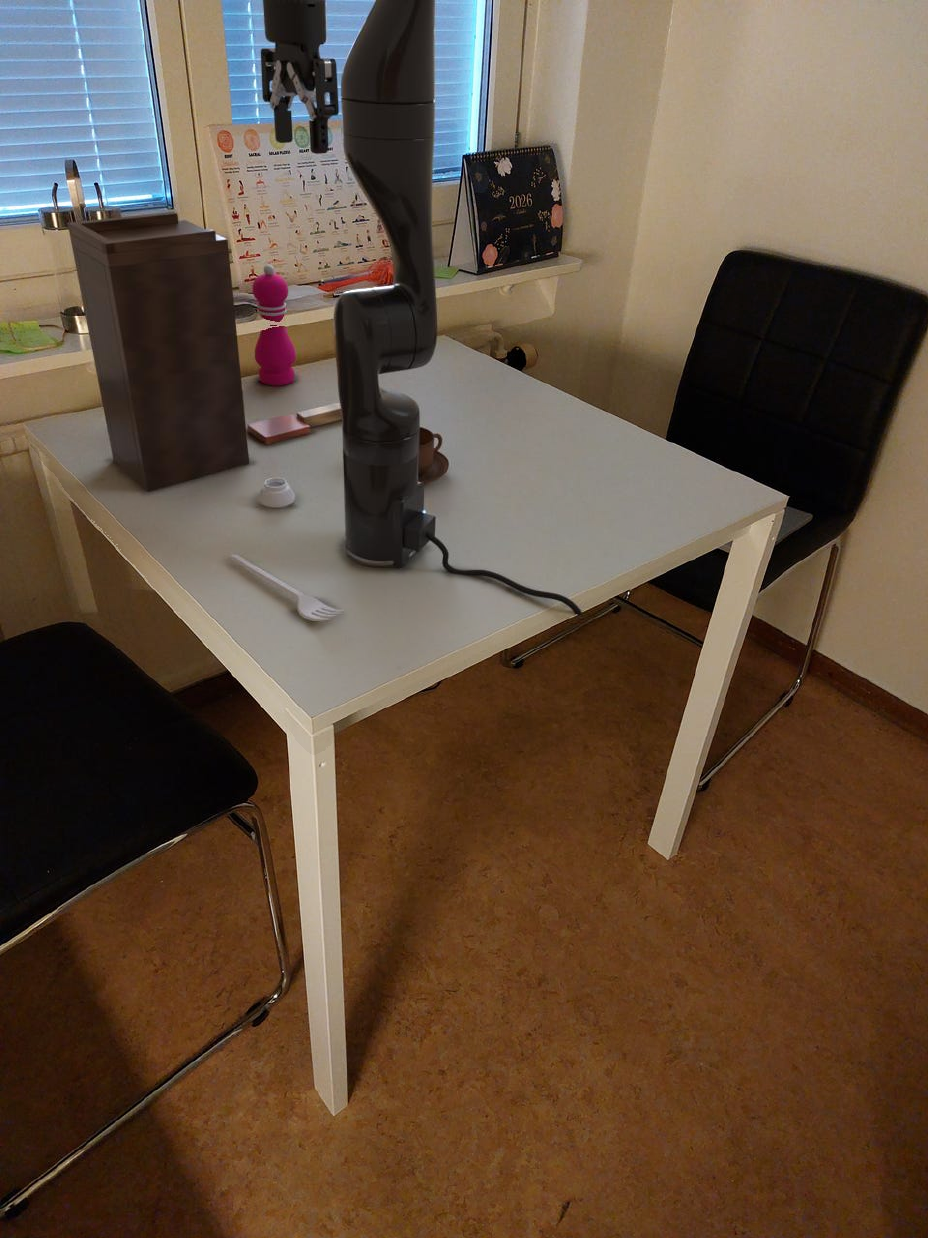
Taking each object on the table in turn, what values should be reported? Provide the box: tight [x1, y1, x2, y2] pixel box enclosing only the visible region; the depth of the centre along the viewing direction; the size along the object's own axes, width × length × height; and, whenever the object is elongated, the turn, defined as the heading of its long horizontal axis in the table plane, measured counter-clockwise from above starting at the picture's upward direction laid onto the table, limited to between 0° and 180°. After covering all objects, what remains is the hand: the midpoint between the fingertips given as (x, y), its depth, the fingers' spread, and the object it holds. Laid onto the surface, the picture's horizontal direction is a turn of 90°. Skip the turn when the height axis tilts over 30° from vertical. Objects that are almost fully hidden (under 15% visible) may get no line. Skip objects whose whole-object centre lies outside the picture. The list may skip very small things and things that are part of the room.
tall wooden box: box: [67, 211, 250, 493], centre depth 124 cm, size 16×12×33 cm
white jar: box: [257, 477, 296, 508], centre depth 125 cm, size 5×3×5 cm
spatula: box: [246, 401, 342, 445], centre depth 147 cm, size 22×6×2 cm, turn 129°
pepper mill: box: [252, 264, 297, 386], centre depth 156 cm, size 7×7×20 cm
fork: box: [229, 553, 346, 622], centre depth 107 cm, size 3×20×2 cm, turn 48°
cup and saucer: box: [418, 426, 450, 485], centre depth 133 cm, size 12×12×6 cm
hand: (301, 147), depth 116 cm, fingers open, 8 cm apart
